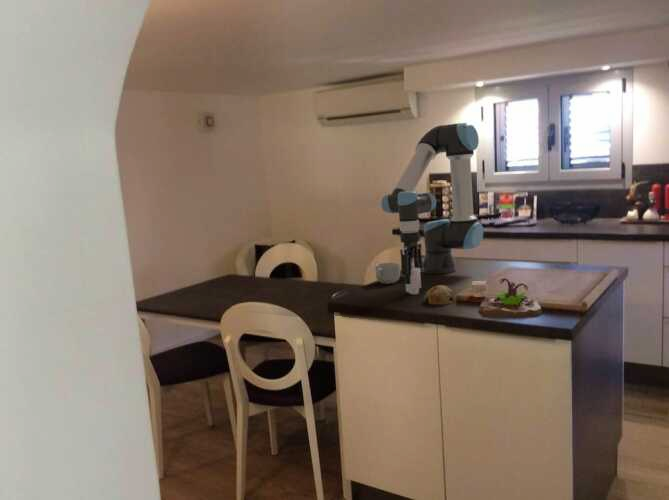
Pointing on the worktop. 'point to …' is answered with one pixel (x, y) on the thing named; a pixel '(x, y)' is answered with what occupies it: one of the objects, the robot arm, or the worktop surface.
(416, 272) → the smoothie
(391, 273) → the teacup
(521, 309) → the plant
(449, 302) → the bread roll
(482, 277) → the worktop surface
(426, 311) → the worktop surface
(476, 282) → the birch block
